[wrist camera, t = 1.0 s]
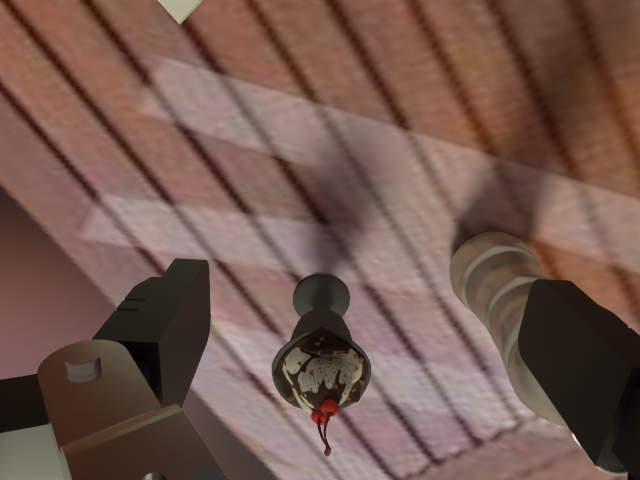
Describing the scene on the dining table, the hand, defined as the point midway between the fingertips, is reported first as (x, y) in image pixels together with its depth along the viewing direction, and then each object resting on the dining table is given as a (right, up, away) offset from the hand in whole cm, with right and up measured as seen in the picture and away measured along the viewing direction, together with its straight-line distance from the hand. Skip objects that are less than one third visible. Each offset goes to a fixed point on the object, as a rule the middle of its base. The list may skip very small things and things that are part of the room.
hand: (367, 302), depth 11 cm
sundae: (-1, -4, +29) cm, 29 cm away
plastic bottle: (+13, 0, +28) cm, 30 cm away
